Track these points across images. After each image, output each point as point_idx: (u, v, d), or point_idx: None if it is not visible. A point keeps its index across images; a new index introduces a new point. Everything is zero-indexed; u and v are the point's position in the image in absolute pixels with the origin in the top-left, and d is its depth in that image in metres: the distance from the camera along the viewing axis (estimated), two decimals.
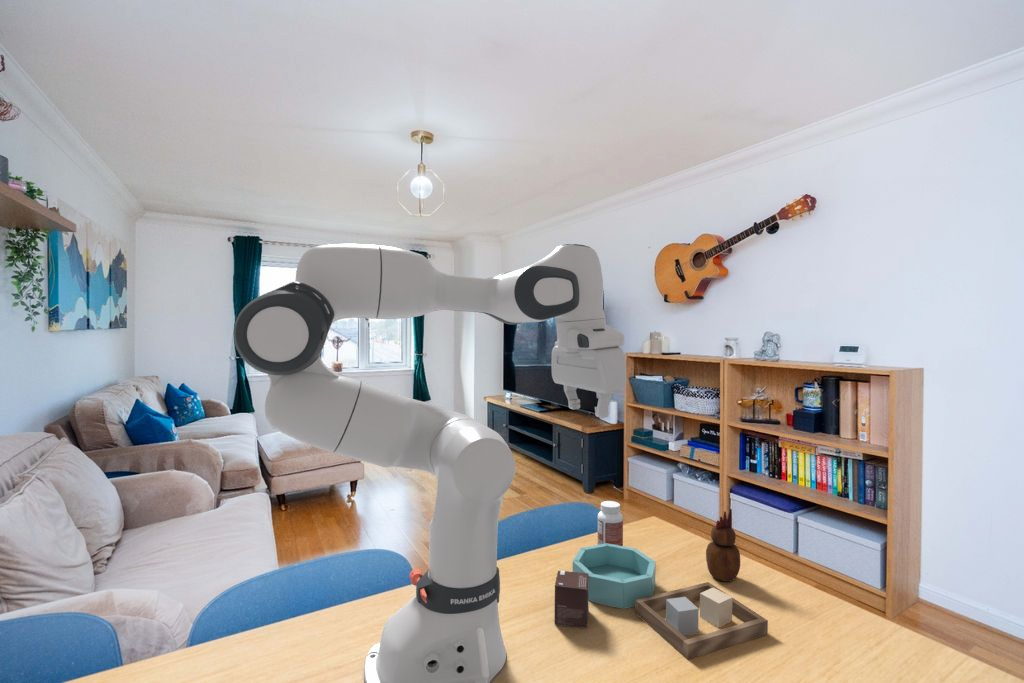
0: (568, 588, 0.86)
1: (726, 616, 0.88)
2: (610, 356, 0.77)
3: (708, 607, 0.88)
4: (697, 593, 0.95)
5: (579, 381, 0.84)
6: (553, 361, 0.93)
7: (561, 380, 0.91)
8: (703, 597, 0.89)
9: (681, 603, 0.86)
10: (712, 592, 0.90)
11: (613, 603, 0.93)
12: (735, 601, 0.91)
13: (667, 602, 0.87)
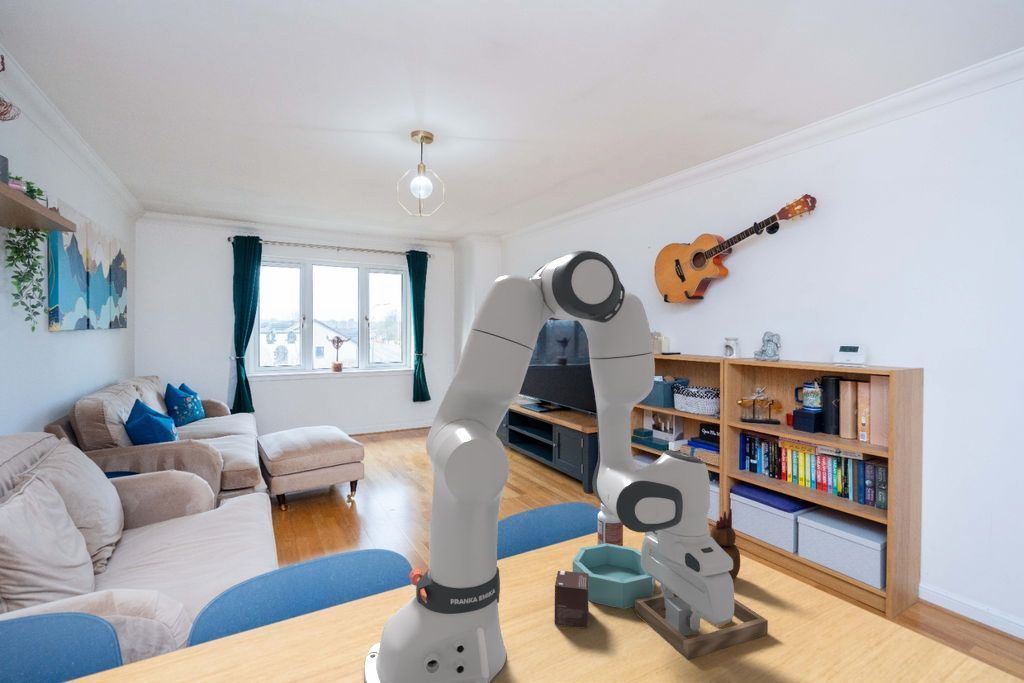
0: (569, 588, 0.86)
1: None
2: (720, 585, 0.77)
3: None
4: None
5: (678, 590, 0.84)
6: (644, 550, 0.93)
7: (653, 574, 0.91)
8: None
9: (680, 603, 0.86)
10: None
11: (613, 603, 0.93)
12: (735, 601, 0.91)
13: (667, 602, 0.87)
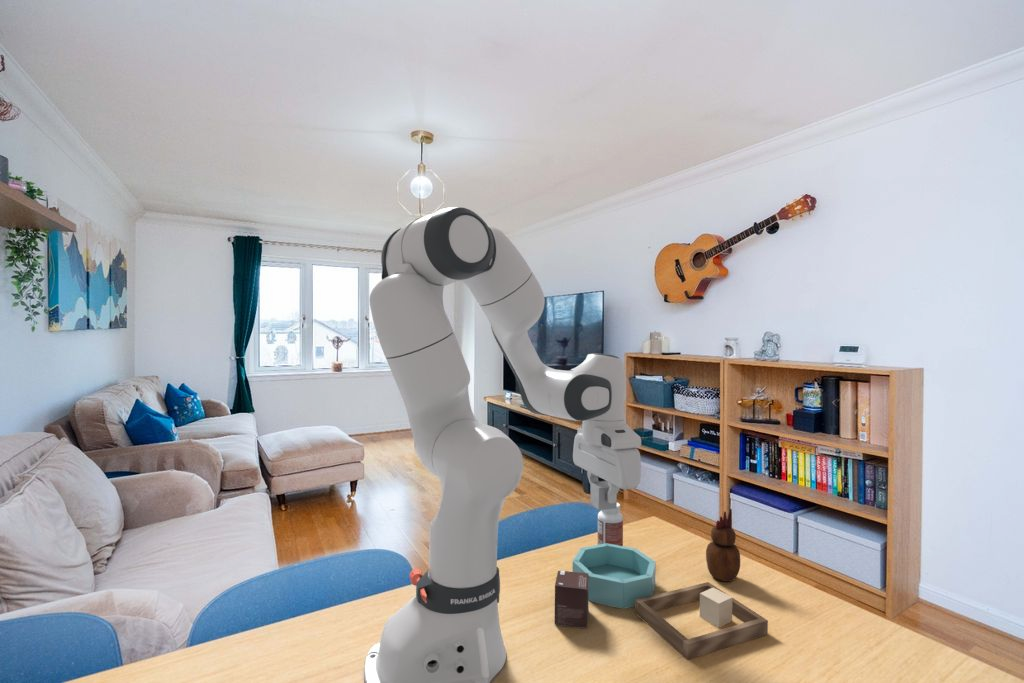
0: (569, 588, 0.86)
1: (726, 616, 0.88)
2: (628, 457, 0.90)
3: (708, 607, 0.88)
4: (697, 593, 0.95)
5: (598, 471, 0.98)
6: (575, 446, 1.06)
7: (581, 464, 1.04)
8: (703, 597, 0.89)
9: (602, 484, 0.99)
10: (712, 592, 0.90)
11: (613, 603, 0.93)
12: (735, 601, 0.91)
13: (591, 484, 1.00)
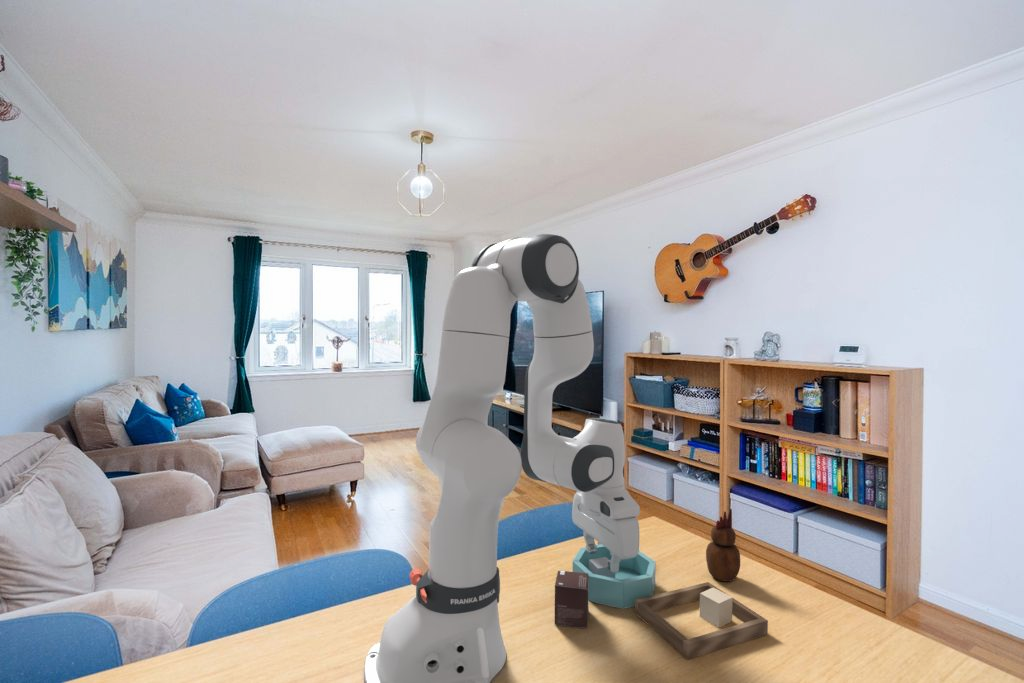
0: (569, 588, 0.86)
1: (726, 616, 0.88)
2: (627, 527, 0.91)
3: (708, 607, 0.88)
4: (697, 593, 0.95)
5: (597, 536, 0.98)
6: (574, 505, 1.07)
7: (580, 525, 1.04)
8: (703, 597, 0.89)
9: (601, 562, 1.00)
10: (712, 592, 0.90)
11: (613, 603, 0.93)
12: (735, 601, 0.91)
13: (590, 562, 1.01)
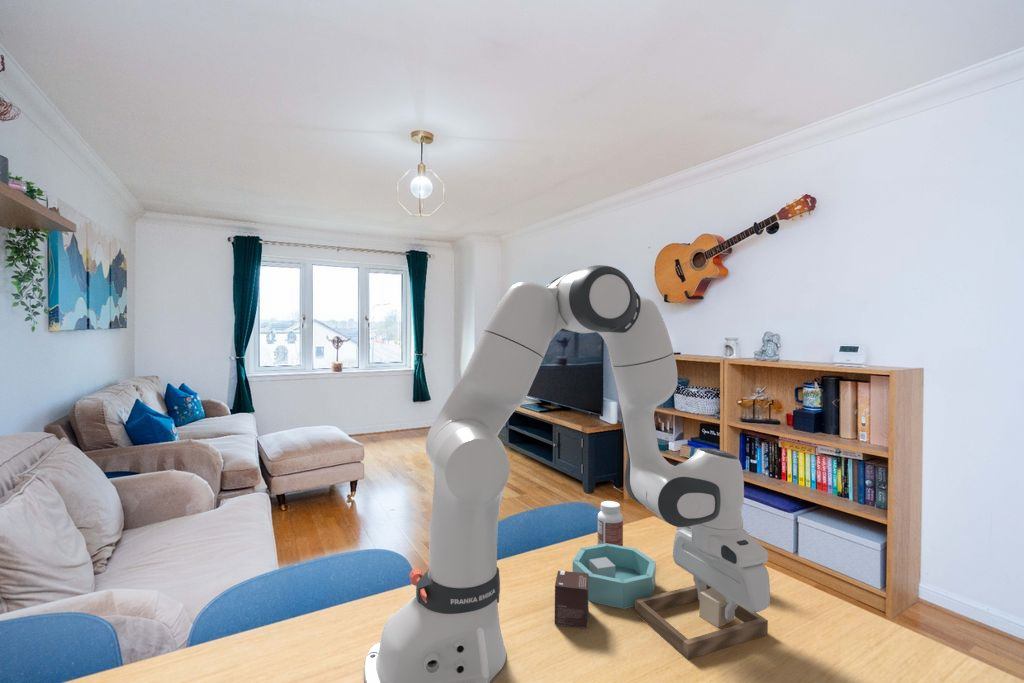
0: (569, 588, 0.86)
1: None
2: (757, 576, 0.80)
3: (708, 607, 0.88)
4: (697, 593, 0.95)
5: (713, 582, 0.87)
6: (677, 544, 0.96)
7: (686, 567, 0.94)
8: (703, 596, 0.89)
9: (601, 562, 1.00)
10: (712, 592, 0.90)
11: (613, 603, 0.93)
12: None
13: (590, 562, 1.01)
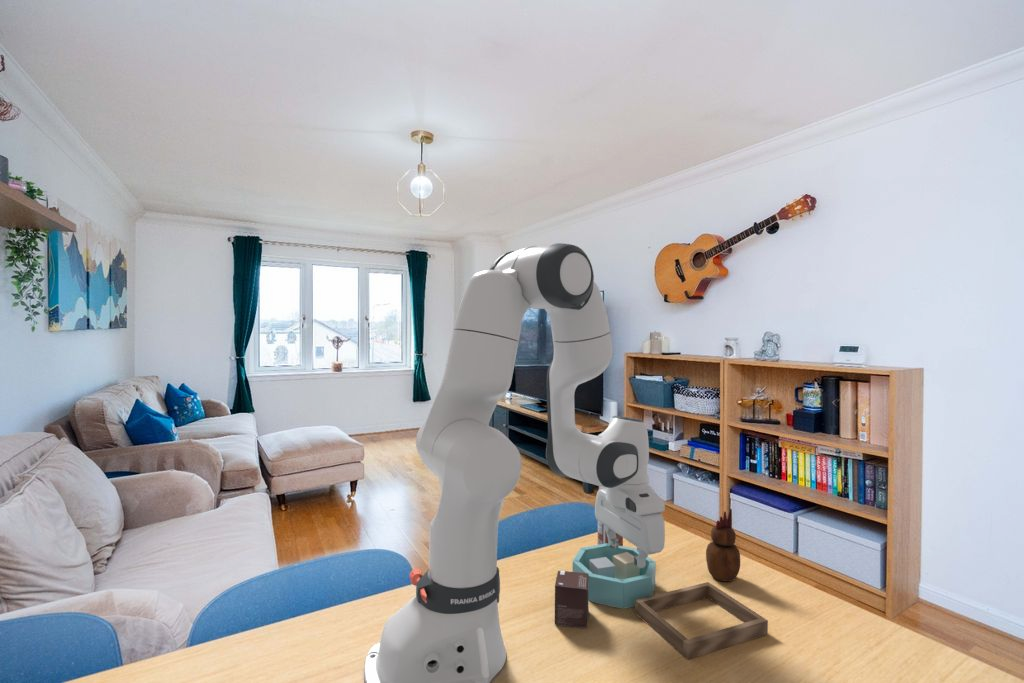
0: (569, 588, 0.86)
1: (633, 575, 1.00)
2: (653, 523, 0.93)
3: (618, 568, 1.01)
4: (697, 593, 0.95)
5: (622, 531, 1.00)
6: (597, 502, 1.09)
7: (604, 521, 1.07)
8: (615, 559, 1.02)
9: (601, 562, 1.00)
10: (624, 555, 1.03)
11: (613, 603, 0.93)
12: (735, 601, 0.91)
13: (590, 562, 1.01)
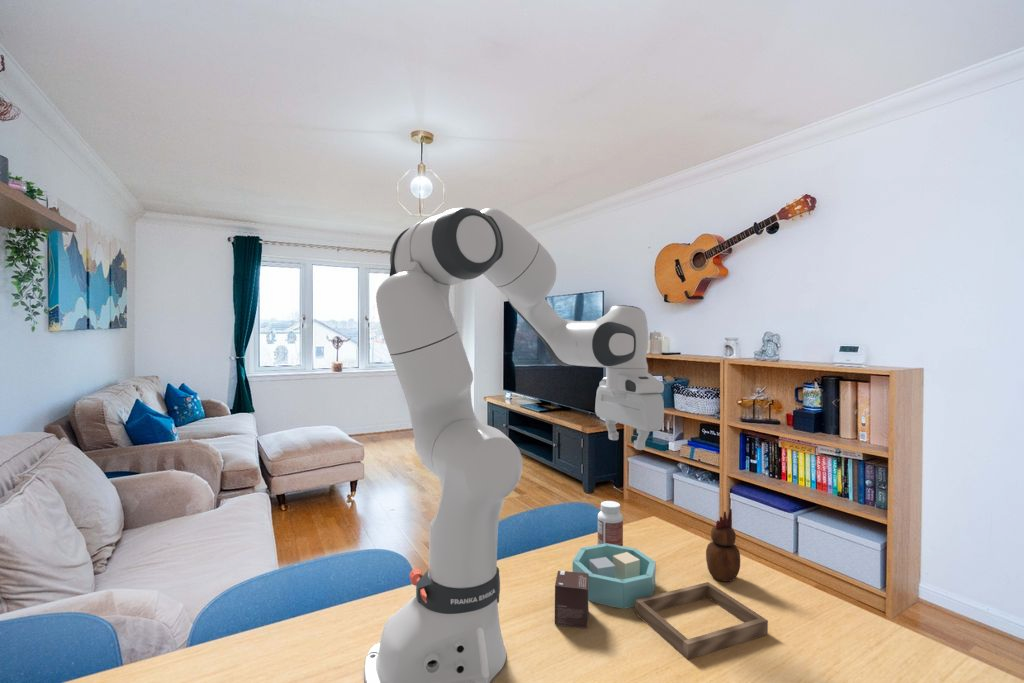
0: (569, 588, 0.86)
1: (633, 575, 1.00)
2: (652, 400, 0.95)
3: (618, 568, 1.01)
4: (697, 593, 0.95)
5: (622, 418, 1.02)
6: (598, 398, 1.11)
7: (604, 414, 1.08)
8: (615, 559, 1.02)
9: (601, 562, 1.00)
10: (624, 555, 1.03)
11: (613, 603, 0.93)
12: (735, 601, 0.91)
13: (590, 562, 1.01)
